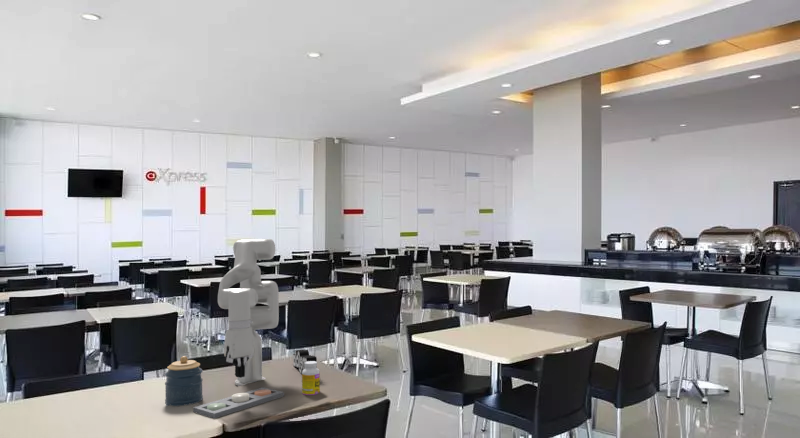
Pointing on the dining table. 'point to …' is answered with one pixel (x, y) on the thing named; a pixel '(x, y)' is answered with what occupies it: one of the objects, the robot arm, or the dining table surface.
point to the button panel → (234, 406)
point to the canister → (183, 383)
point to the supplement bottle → (310, 379)
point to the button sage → (216, 406)
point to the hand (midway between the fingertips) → (240, 376)
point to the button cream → (240, 397)
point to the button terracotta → (262, 392)
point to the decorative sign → (302, 359)
